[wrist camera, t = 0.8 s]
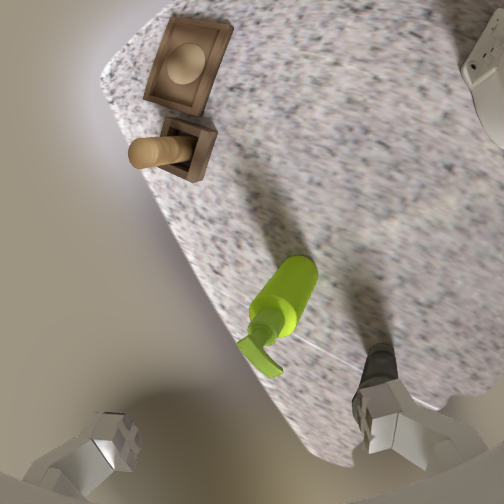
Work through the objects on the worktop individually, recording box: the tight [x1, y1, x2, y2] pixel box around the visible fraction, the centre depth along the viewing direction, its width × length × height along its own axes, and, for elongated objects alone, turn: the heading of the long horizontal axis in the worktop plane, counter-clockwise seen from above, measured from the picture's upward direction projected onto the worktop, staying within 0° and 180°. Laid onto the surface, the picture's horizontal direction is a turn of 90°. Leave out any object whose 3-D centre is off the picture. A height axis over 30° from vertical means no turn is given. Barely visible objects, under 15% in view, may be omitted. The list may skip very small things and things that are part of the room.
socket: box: [156, 117, 218, 183], centre depth 46 cm, size 8×8×3 cm
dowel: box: [128, 136, 198, 169], centre depth 42 cm, size 4×4×12 cm
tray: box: [143, 17, 234, 116], centre depth 42 cm, size 15×11×2 cm
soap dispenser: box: [236, 256, 318, 379], centre depth 39 cm, size 6×7×20 cm
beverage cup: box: [352, 344, 398, 449], centre depth 38 cm, size 7×7×20 cm
